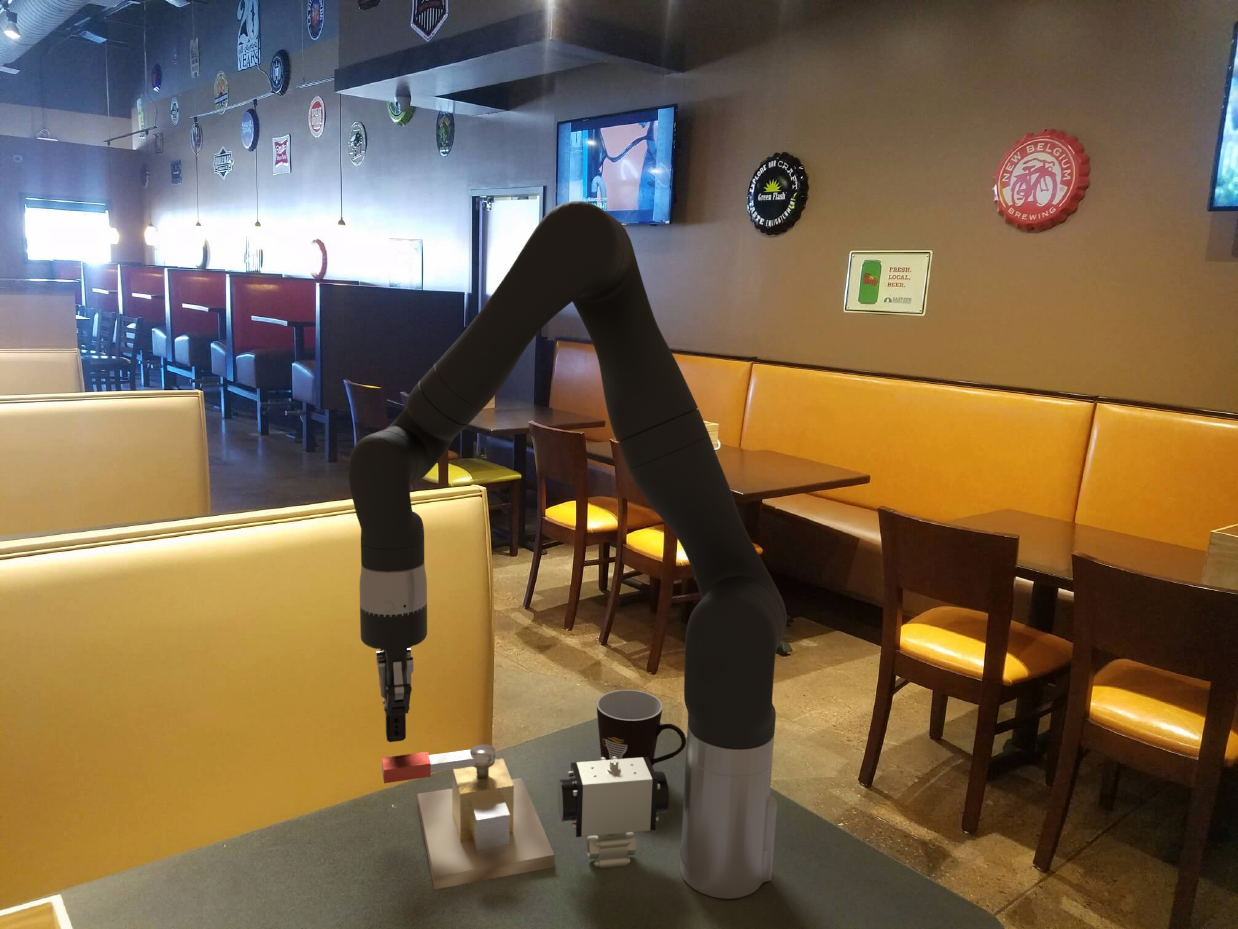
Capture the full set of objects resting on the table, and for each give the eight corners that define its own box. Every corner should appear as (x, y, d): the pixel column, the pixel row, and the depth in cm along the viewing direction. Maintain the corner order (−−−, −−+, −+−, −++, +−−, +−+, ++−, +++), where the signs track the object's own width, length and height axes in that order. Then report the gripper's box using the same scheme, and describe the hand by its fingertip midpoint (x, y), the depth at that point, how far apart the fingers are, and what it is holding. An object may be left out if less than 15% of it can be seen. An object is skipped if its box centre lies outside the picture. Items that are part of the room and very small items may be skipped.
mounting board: (521, 788, 110) (521, 778, 110) (554, 867, 96) (554, 854, 95) (417, 805, 106) (417, 793, 106) (434, 889, 91) (434, 876, 91)
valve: (496, 788, 108) (497, 733, 106) (520, 852, 96) (520, 791, 94) (448, 796, 106) (447, 740, 104) (465, 862, 94) (465, 800, 92)
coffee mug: (581, 770, 115) (583, 700, 113) (632, 751, 120) (634, 684, 118) (635, 812, 106) (638, 737, 104) (688, 790, 111) (692, 718, 109)
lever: (492, 755, 101) (492, 742, 101) (497, 767, 98) (497, 754, 98) (382, 770, 97) (381, 757, 96) (384, 784, 94) (383, 770, 94)
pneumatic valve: (666, 867, 96) (671, 768, 94) (561, 878, 94) (564, 777, 92) (654, 837, 102) (658, 742, 99) (555, 846, 99) (557, 750, 97)
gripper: (434, 618, 95) (434, 762, 98) (420, 579, 107) (421, 709, 111) (362, 624, 93) (366, 772, 96) (357, 584, 105) (360, 716, 108)
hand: (395, 738), depth 103 cm, fingers closed
